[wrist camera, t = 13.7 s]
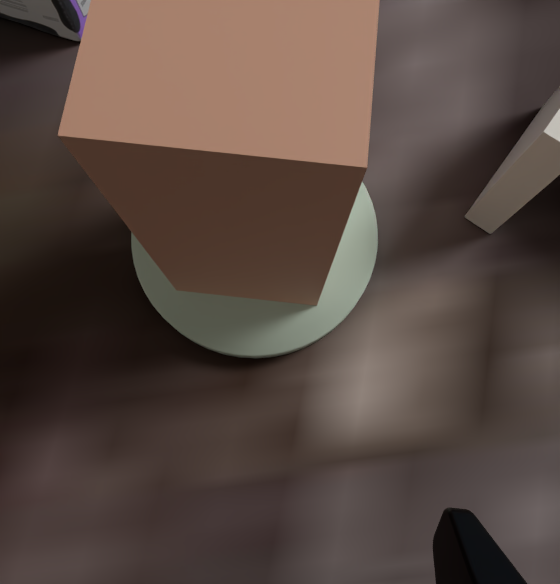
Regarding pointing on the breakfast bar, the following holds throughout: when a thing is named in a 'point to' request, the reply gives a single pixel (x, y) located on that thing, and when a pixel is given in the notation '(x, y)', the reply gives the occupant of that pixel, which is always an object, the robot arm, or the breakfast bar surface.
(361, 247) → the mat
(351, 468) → the breakfast bar surface
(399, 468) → the breakfast bar surface
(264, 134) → the block
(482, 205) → the bay
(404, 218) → the breakfast bar surface
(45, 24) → the candy box
